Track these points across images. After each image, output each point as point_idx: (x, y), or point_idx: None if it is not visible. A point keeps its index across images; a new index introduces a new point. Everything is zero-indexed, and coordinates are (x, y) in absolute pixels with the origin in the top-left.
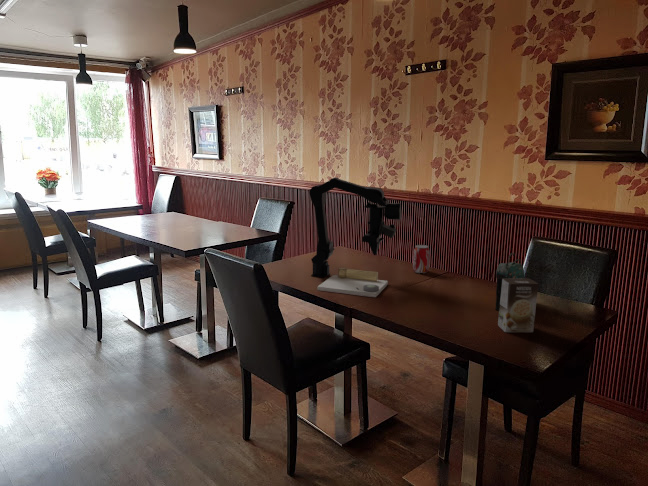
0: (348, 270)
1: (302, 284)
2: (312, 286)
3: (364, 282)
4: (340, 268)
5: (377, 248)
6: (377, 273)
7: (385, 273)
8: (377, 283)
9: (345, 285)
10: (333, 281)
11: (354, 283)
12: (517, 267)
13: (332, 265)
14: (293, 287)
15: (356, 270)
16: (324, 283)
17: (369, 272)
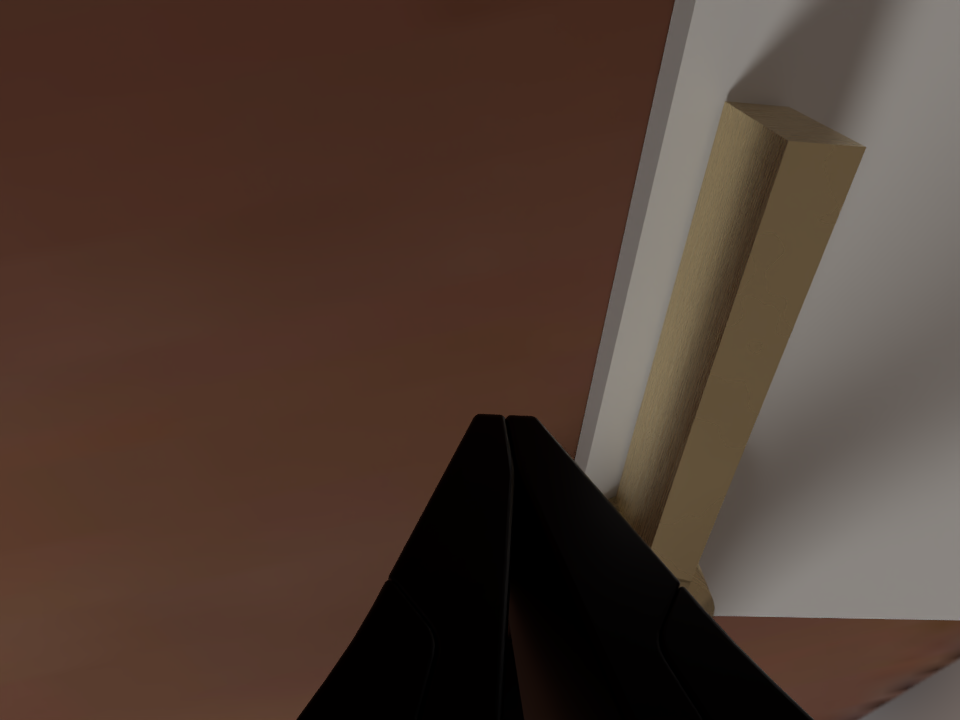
0: (696, 557)
1: None
2: (830, 639)
3: (831, 272)
4: None
5: (567, 560)
6: (804, 137)
7: (32, 81)
8: (891, 67)
9: (955, 439)
10: (798, 562)
11: (878, 374)
12: None
13: (111, 683)
14: (857, 714)
15: (712, 480)
16: (869, 602)
17: (807, 287)
